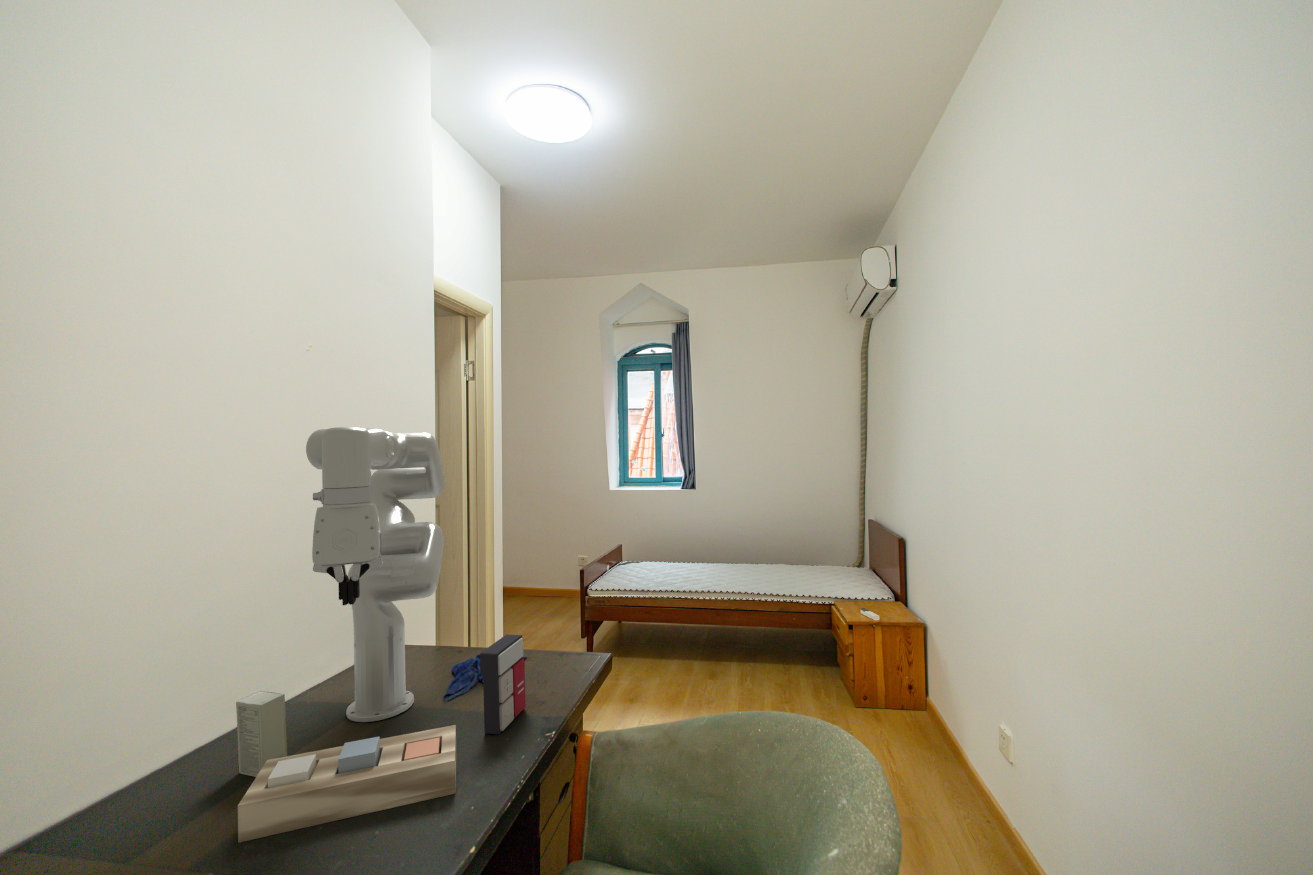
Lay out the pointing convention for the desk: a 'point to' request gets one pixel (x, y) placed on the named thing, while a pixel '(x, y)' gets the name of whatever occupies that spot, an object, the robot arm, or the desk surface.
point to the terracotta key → (422, 748)
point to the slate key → (359, 755)
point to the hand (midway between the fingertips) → (349, 602)
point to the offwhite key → (292, 771)
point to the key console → (348, 786)
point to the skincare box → (260, 730)
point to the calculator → (503, 682)
